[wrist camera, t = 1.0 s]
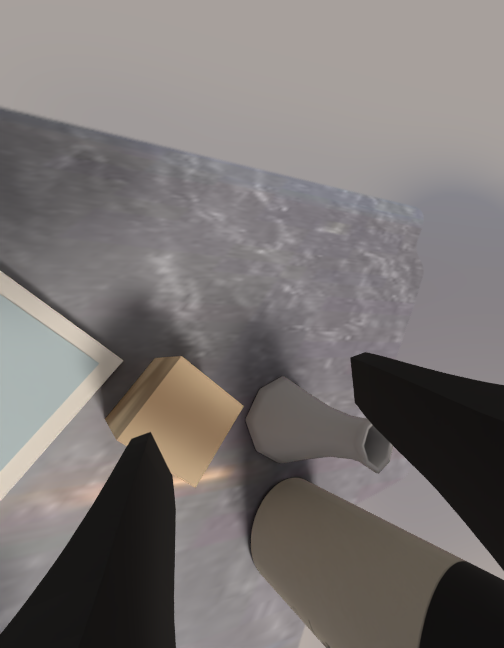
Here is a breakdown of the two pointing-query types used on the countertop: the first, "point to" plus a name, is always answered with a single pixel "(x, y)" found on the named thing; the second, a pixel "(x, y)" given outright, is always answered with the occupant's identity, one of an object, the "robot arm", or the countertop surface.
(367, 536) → the travel mug
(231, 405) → the oak block
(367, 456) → the flask
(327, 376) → the countertop surface
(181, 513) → the countertop surface
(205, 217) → the countertop surface
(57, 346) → the picture frame
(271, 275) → the countertop surface
